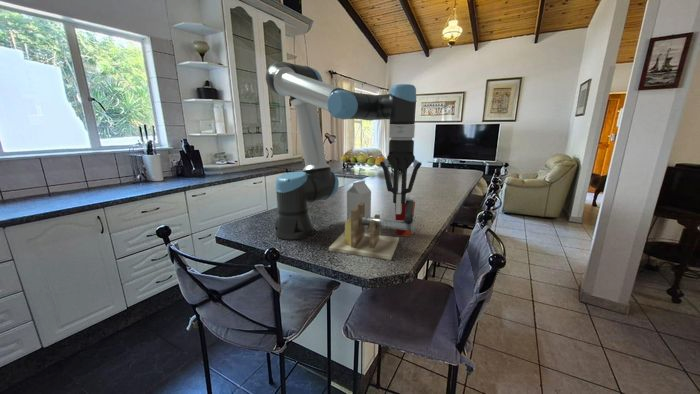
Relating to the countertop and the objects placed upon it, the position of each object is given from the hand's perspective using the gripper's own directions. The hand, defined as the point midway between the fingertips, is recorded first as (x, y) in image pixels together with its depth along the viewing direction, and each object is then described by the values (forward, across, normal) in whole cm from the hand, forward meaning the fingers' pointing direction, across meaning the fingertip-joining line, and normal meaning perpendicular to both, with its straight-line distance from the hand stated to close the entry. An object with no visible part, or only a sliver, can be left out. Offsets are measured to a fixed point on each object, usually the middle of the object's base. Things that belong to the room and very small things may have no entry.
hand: (398, 212), depth 89 cm
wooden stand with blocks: (+13, -11, 0) cm, 17 cm away
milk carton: (+13, -19, +18) cm, 30 cm away
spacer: (+8, -16, 0) cm, 18 cm away
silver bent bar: (+6, -4, 0) cm, 7 cm away
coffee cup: (+13, 0, +16) cm, 21 cm away
